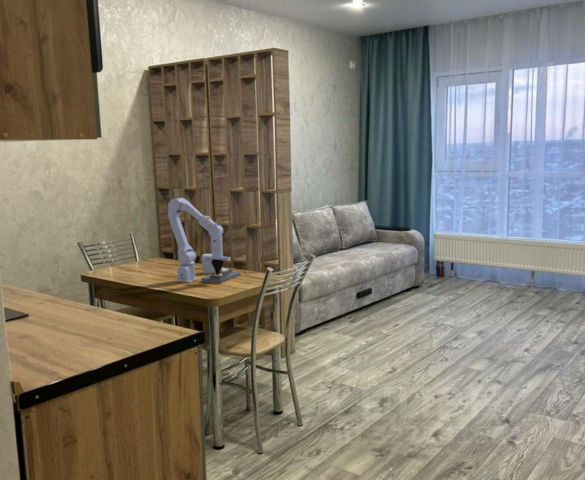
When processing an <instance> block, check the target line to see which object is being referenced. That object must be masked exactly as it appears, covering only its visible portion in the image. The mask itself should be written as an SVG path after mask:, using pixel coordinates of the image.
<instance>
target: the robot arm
mask: <svg viewBox="0 0 585 480" xmlns="http://www.w3.org/2000/svg"><path fill="white" fill-rule="evenodd" d="M167 207H168V210H167V219H168V221H169V223H170V226H171V229H172V233H173V235H174V238H175V241H176V243H177V246H178V250H177V255H178V256H177V258H178V262H179V264H180V266H178V268H177V270H176V271H177V280H176V282H178V283H191V282H194V281H197V280H199V277H196V268H195V267H196V266H195V261H196V259H197V254H196V252H195V251H194V249H193V247H192V246H191V245H190V244H189V242H188V239H187V236H186V233H185V230H184V227H183V224H182V221H181V218H180V215H181V214H182V212H187V213H188V214H190V216H192V217H194V218H195V219H196V220H198V224H199V225H200V226H201V227H202V228H204V229H205V230H206V231H207V232H208V234H209V236H210V240H211V241H210V242H211V243H210V245H211V247H210V248H211V254H212V256H205V260H212V262H211V263H212V265H213V267H214V269H215V272H216V274H220V272H221V268H222V267H223V266H224V265H223V264H224V263H225V262H231V257H230V256H224V253H223V252H224V251H223V234H224V228H223V226H222V225H221V224H217V222H215V221H214V220H212V219H211V217H210V216H209V215H204V214H202V213H201V212H200V211H199V210H198V209H197V208H196V207H194V205H192V204H191V202H190V201H189V200H187V199H186V198H185V197H179V198H178V197H177V198H171V199H170V201H169V202H168V204H167Z"/></svg>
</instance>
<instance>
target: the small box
mask: <svg viewBox="0 0 585 480" xmlns="http://www.w3.org/2000/svg"><path fill="white" fill-rule="evenodd" d="M205 256H212V253H204V254H202V255H201V265H202V267H201V268H202V275H203V274H208V275H212V273H215V269H214V267H213V265H212V263H211V262H212V260H205Z"/></svg>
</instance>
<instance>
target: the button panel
mask: <svg viewBox="0 0 585 480" xmlns="http://www.w3.org/2000/svg"><path fill="white" fill-rule="evenodd" d="M227 269H228V271H225V273H221V274H222V276H214V274H216V272H215V273H213V274H208V275H207V276H204V277H200V280H201V281H200V282H201V283H208V282H209V283H210V284H223V282H224V283H226V282H229V281H231V280H234V279H236V278H239V277H240V276H241V275H242V273H241V271H233V269H230V268H227ZM238 276H239V277H238ZM235 277H236V278H235ZM233 278H234V279H233ZM230 279H231V280H230ZM228 280H229V281H228ZM225 281H226V282H225ZM209 283H208V284H209Z"/></svg>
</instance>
